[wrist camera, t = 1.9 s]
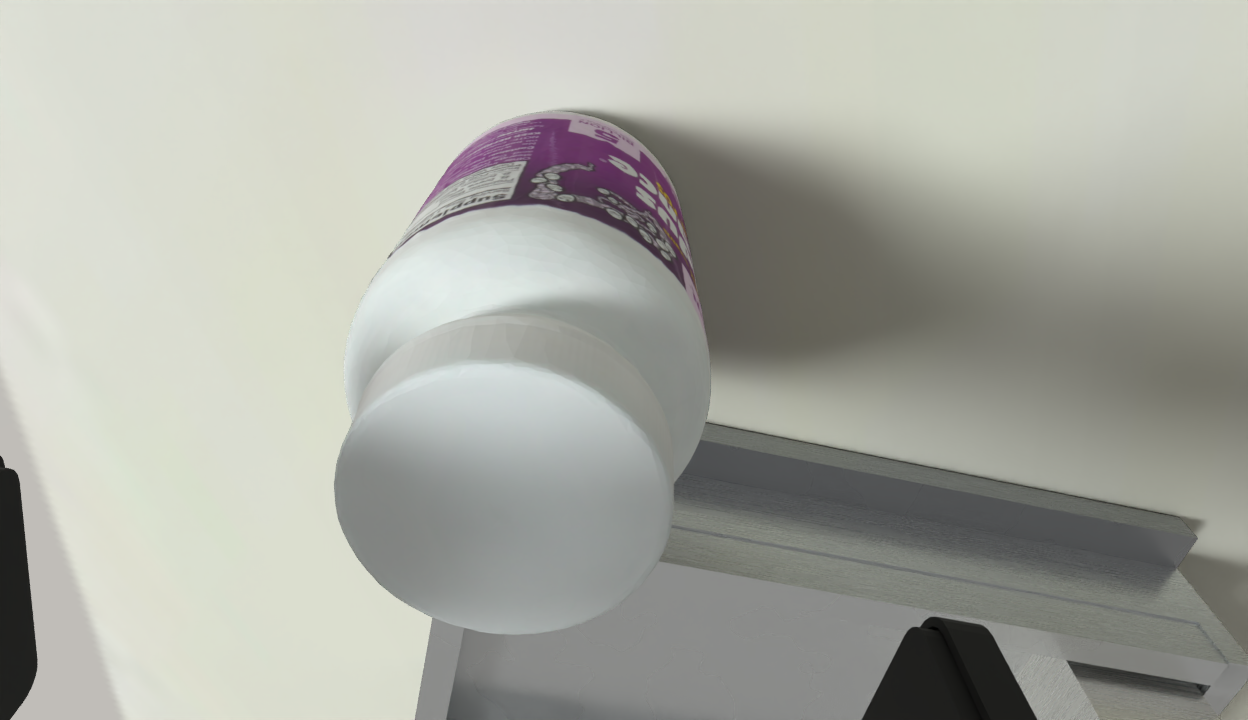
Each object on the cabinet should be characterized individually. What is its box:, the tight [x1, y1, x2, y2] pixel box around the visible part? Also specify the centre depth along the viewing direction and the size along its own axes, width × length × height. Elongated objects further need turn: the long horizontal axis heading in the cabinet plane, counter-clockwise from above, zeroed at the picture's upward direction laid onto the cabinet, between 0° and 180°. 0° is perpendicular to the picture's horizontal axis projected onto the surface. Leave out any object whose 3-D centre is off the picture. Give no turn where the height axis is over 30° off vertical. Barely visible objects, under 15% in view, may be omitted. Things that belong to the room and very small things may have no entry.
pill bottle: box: [334, 111, 711, 635], centre depth 14 cm, size 5×5×10 cm
